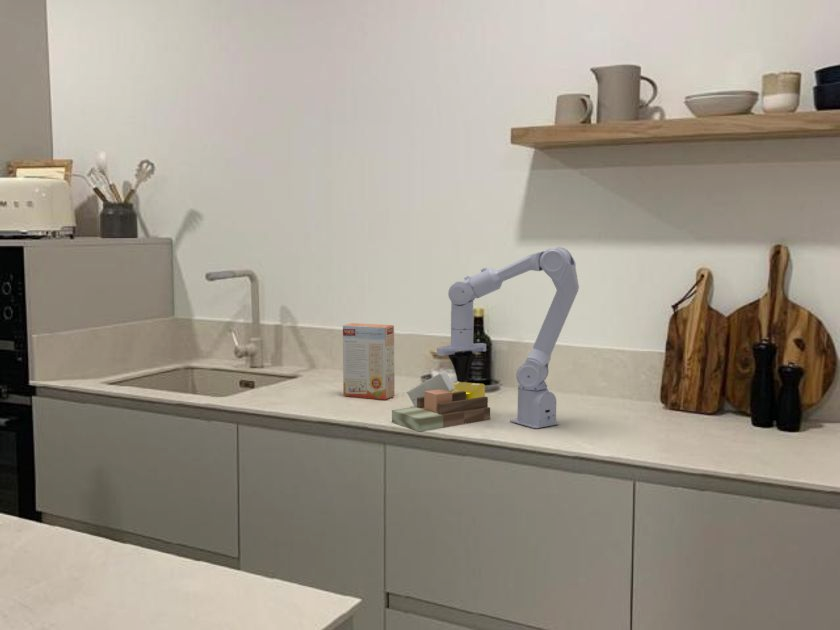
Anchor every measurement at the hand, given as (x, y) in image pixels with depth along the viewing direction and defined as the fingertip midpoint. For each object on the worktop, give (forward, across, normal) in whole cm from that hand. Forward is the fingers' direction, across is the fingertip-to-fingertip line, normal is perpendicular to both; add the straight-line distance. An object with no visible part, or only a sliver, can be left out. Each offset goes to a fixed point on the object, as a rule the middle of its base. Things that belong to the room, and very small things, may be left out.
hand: (461, 381), depth 213 cm
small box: (+7, +5, -15) cm, 17 cm away
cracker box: (+10, +6, -36) cm, 38 cm away
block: (+6, +8, 0) cm, 10 cm away
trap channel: (+9, +8, 0) cm, 12 cm away
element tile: (+10, -12, -18) cm, 24 cm away
